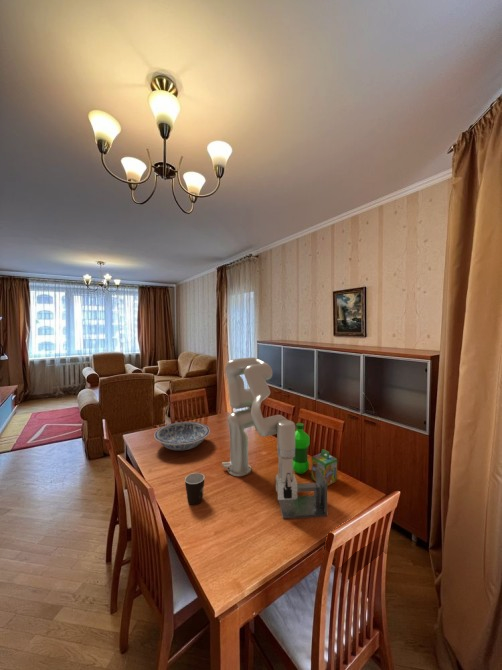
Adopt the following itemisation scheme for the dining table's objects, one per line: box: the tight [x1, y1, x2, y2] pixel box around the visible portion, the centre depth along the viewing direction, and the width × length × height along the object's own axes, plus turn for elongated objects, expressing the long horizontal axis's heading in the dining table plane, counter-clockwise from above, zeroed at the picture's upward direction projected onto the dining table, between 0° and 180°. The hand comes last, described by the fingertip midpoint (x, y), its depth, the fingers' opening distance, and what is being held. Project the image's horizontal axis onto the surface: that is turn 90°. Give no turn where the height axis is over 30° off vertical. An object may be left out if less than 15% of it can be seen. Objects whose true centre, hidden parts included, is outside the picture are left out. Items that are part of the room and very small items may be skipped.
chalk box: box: [310, 448, 338, 487], centre depth 133 cm, size 9×9×15 cm
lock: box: [275, 473, 298, 501], centre depth 113 cm, size 8×6×7 cm
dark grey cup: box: [184, 472, 205, 506], centre depth 120 cm, size 12×9×10 cm
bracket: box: [278, 467, 328, 520], centre depth 113 cm, size 18×12×14 cm, turn 93°
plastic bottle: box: [293, 422, 311, 475], centre depth 141 cm, size 10×10×25 cm
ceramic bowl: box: [153, 421, 211, 452], centre depth 172 cm, size 34×34×10 cm
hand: (286, 492), depth 113 cm, fingers closed on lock, 6 cm apart
